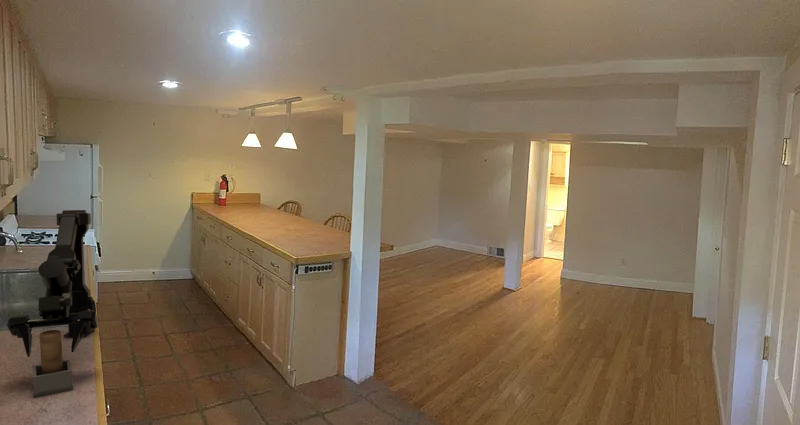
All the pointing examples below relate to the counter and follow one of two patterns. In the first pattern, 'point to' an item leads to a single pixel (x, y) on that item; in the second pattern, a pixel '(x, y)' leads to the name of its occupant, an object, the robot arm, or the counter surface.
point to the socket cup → (52, 380)
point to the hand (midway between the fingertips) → (50, 353)
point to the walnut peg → (51, 351)
